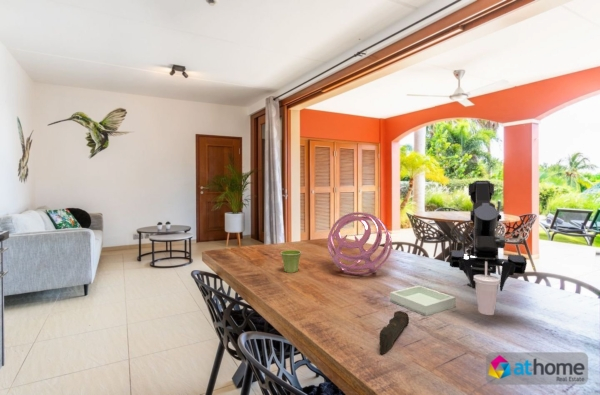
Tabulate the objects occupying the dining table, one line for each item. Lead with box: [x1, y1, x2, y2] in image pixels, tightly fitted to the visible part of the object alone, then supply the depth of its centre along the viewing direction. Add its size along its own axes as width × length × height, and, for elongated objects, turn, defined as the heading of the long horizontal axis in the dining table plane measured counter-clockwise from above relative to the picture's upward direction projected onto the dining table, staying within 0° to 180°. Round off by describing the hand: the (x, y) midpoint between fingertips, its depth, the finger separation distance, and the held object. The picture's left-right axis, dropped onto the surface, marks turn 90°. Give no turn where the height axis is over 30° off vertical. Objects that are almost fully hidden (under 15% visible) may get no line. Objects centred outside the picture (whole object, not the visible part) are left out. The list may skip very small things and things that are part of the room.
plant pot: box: [280, 249, 302, 274], centre depth 143 cm, size 9×9×9 cm
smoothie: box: [473, 261, 501, 316], centre depth 87 cm, size 6×6×14 cm
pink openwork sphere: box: [327, 211, 393, 276], centre depth 140 cm, size 28×28×27 cm
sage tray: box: [389, 284, 457, 317], centre depth 102 cm, size 14×14×3 cm
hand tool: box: [378, 310, 410, 355], centre depth 80 cm, size 19×4×5 cm, turn 146°
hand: (486, 288), depth 85 cm, fingers closed on smoothie, 6 cm apart
